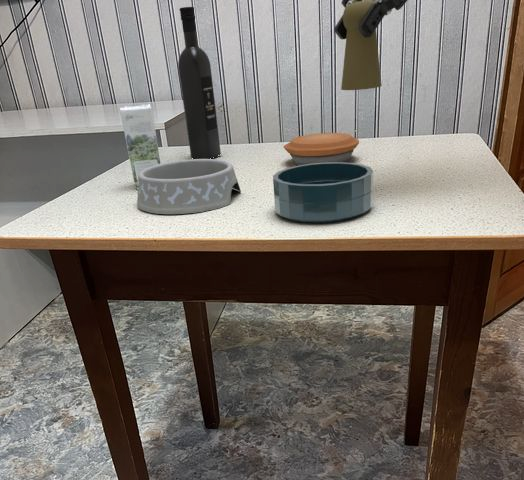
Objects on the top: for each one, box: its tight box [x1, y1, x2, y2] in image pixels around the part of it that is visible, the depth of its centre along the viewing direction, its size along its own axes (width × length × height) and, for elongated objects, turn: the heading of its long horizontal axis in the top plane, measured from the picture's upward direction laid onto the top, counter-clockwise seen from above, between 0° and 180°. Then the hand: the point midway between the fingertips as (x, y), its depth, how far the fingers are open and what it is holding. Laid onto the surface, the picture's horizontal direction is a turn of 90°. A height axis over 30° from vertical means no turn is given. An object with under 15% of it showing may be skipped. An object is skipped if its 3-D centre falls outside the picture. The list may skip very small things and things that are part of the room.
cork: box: [340, 0, 382, 91], centre depth 78 cm, size 6×6×11 cm
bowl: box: [272, 162, 374, 224], centre depth 80 cm, size 15×15×6 cm
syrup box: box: [119, 103, 162, 190], centre depth 102 cm, size 6×6×14 cm
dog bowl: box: [136, 158, 242, 215], centre depth 92 cm, size 17×18×5 cm
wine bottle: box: [177, 6, 222, 159], centre depth 119 cm, size 6×6×30 cm
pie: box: [283, 132, 360, 166], centre depth 111 cm, size 15×16×5 cm
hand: (351, 33), depth 77 cm, fingers closed on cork, 5 cm apart
